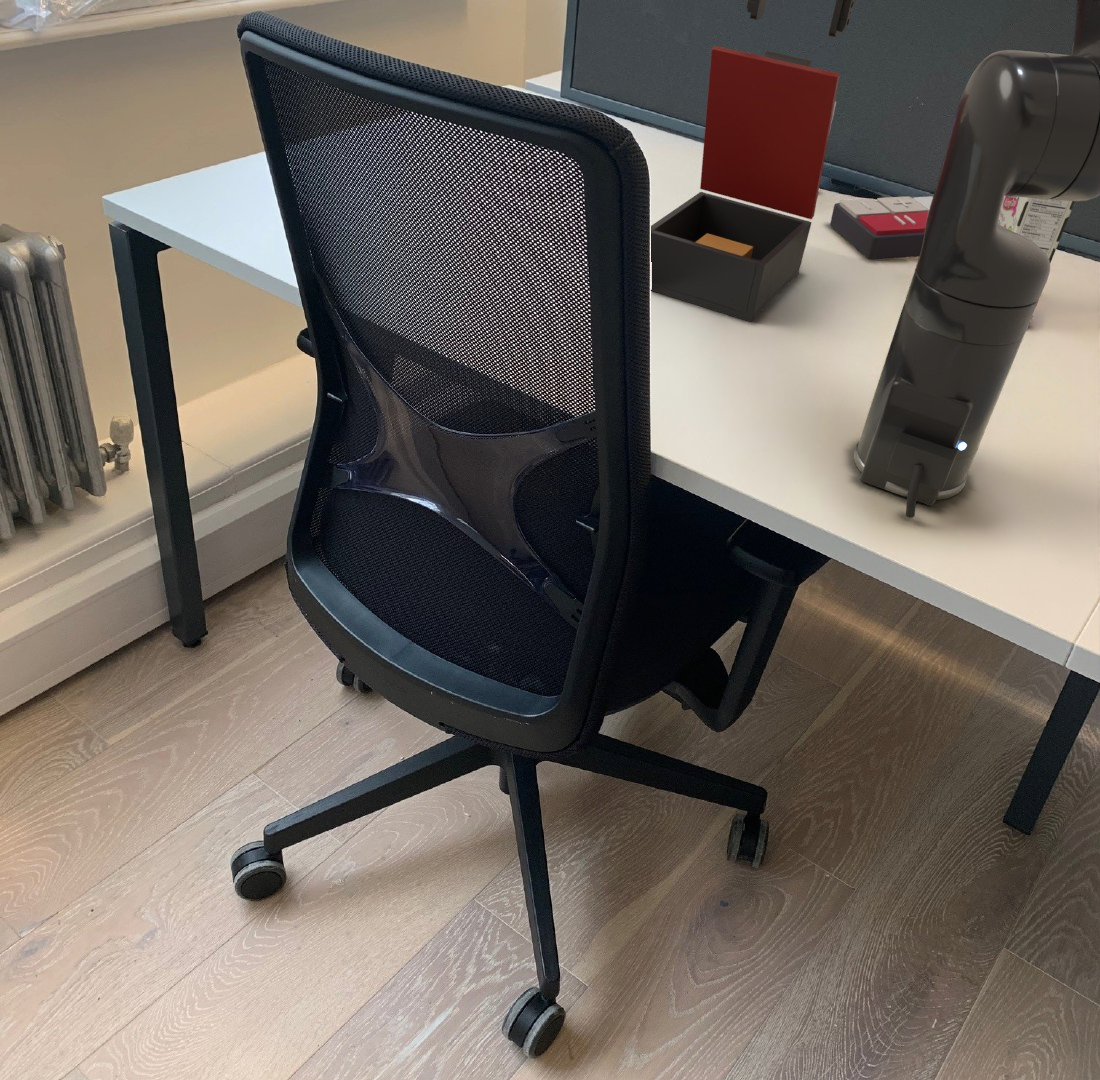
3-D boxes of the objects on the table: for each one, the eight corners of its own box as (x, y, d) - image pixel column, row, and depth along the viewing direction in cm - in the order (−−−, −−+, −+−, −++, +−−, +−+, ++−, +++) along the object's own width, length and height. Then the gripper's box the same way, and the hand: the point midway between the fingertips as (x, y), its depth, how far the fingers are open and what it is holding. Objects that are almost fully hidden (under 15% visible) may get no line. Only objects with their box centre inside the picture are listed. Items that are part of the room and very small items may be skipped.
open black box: (751, 322, 110) (764, 265, 106) (635, 285, 114) (644, 230, 110) (798, 274, 121) (811, 221, 117) (691, 243, 125) (700, 191, 122)
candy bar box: (968, 280, 124) (1019, 140, 114) (1011, 287, 124) (1066, 147, 114) (980, 320, 115) (1036, 172, 105) (1026, 328, 115) (1087, 180, 105)
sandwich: (724, 298, 112) (730, 266, 110) (676, 283, 114) (682, 252, 112) (747, 277, 117) (753, 246, 115) (701, 263, 119) (707, 233, 117)
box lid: (837, 77, 104) (855, 53, 107) (711, 48, 108) (732, 26, 111) (811, 219, 117) (828, 195, 119) (699, 189, 121) (718, 166, 124)
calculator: (834, 197, 132) (939, 191, 135) (827, 229, 135) (930, 223, 138) (875, 231, 124) (987, 224, 127) (867, 265, 127) (976, 257, 130)
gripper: (751, -170, 98) (717, 19, 108) (900, -148, 93) (851, 47, 103) (777, -172, 103) (743, 8, 113) (920, -151, 98) (871, 35, 108)
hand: (795, 27), depth 108 cm, fingers open, 8 cm apart
